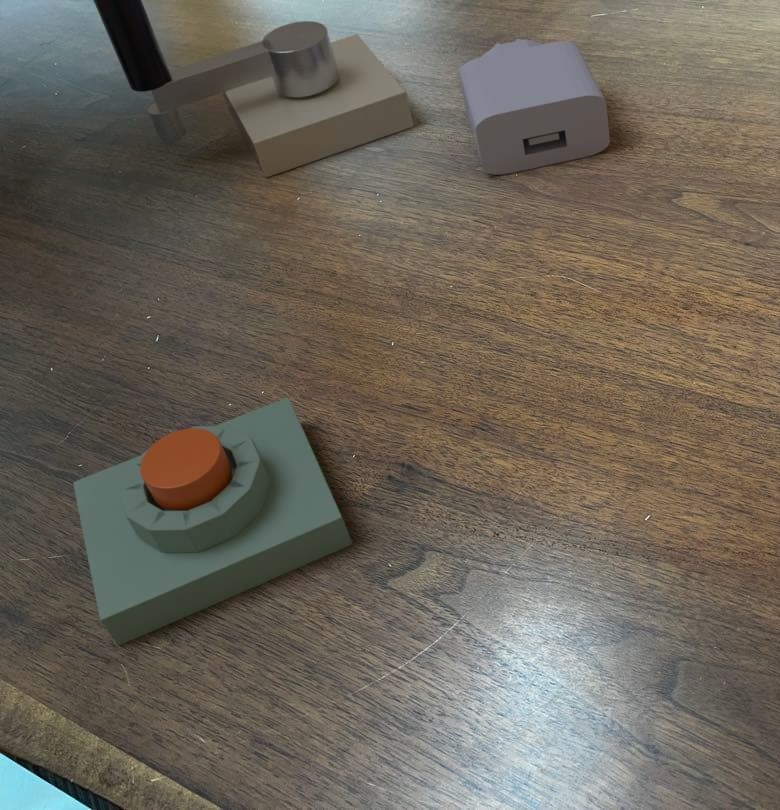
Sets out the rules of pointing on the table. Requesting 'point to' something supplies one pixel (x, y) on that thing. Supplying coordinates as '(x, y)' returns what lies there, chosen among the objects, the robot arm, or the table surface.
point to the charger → (533, 106)
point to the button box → (208, 527)
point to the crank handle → (215, 64)
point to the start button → (186, 469)
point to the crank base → (321, 112)
